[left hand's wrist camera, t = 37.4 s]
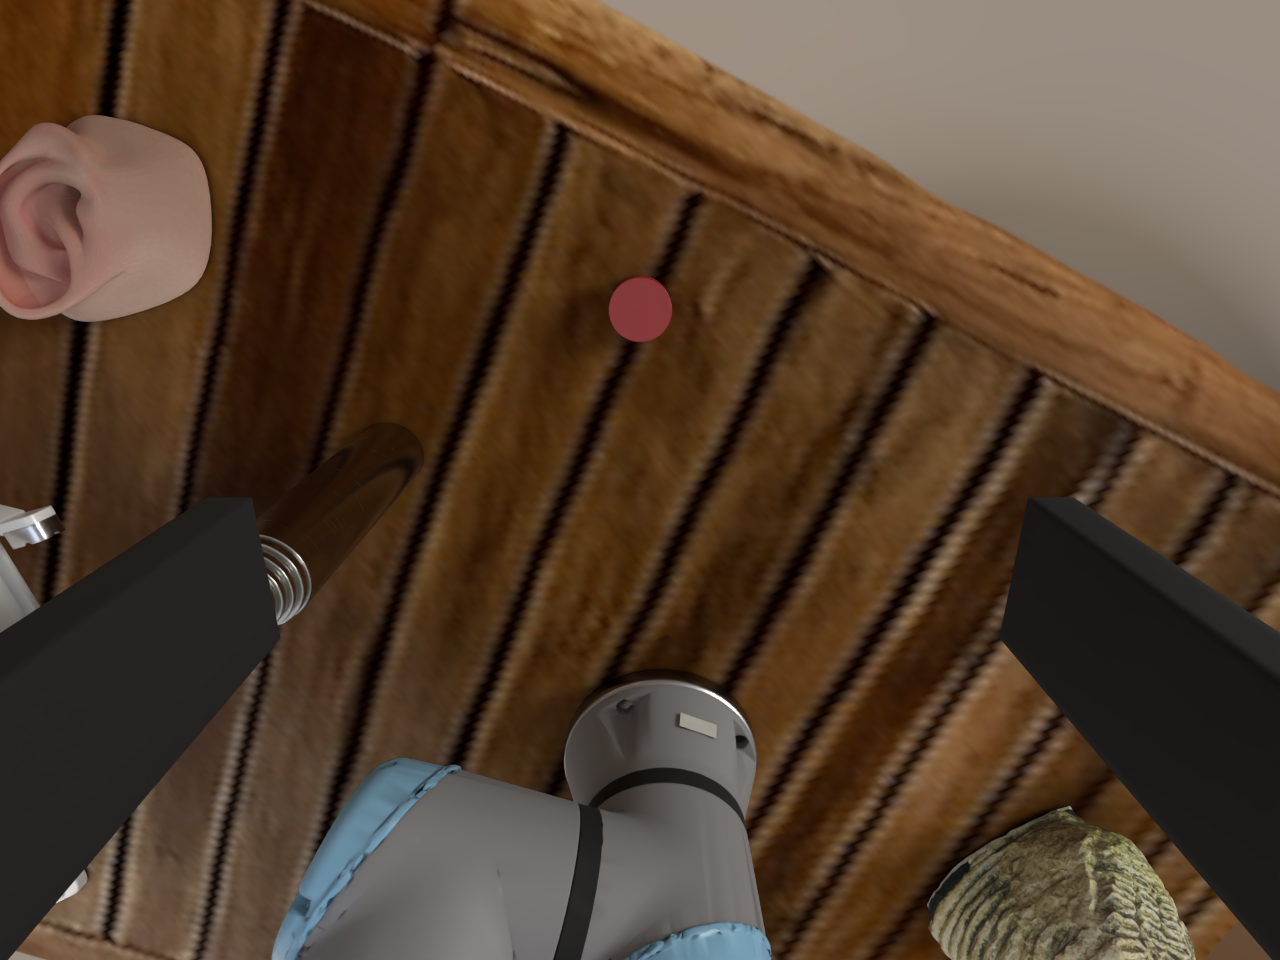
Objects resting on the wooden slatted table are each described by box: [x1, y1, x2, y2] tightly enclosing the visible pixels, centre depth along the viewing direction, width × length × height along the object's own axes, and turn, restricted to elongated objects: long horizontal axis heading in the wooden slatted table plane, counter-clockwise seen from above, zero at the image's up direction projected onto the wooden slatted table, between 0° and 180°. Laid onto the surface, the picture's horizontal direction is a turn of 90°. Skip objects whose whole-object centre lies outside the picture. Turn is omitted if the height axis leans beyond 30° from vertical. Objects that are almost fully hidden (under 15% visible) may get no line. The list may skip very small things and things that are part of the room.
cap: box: [609, 275, 672, 342], centre depth 45 cm, size 4×4×2 cm
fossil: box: [927, 806, 1195, 960], centre depth 55 cm, size 9×18×15 cm, turn 150°
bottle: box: [256, 423, 423, 625], centre depth 39 cm, size 5×5×23 cm
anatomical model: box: [0, 115, 212, 322], centre depth 42 cm, size 13×4×12 cm
